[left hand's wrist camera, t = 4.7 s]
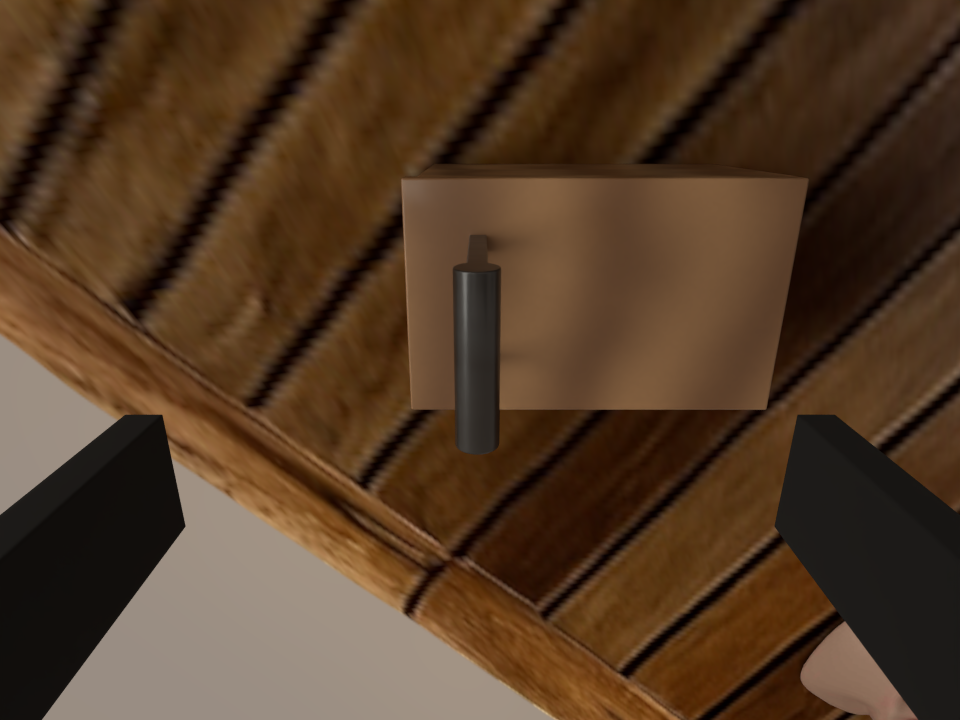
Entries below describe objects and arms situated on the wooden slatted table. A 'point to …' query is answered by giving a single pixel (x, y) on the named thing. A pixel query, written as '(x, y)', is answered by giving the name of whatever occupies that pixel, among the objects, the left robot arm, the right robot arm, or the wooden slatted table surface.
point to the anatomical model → (852, 678)
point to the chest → (592, 170)
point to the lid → (594, 293)
